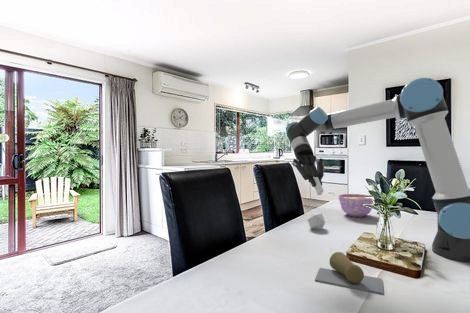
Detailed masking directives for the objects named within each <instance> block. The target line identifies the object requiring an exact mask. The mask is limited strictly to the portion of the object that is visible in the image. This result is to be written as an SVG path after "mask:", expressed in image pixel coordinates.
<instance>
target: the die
mask: <svg viewBox="0 0 470 313" xmlns="http://www.w3.org/2000/svg"><path fill="white" fill-rule="evenodd" d="M307 223H308V225H309V227H310V230H319V231H322V230H323V228H324V225H325V224H326V221H325V218H324V215H323V213H322V212H321V213H320V212H319V213H318V212H311V213H310V214H309V215H308V218H307Z"/></svg>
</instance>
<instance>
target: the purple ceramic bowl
mask: <svg viewBox="0 0 470 313" xmlns="http://www.w3.org/2000/svg"><path fill="white" fill-rule="evenodd" d="M364 196H368V194H360V193H357V194H356V193H344V194H340V195H338V201H339V204H340V208H341V210H342V211H343V213H345V214H347V215H348V216H350V217H355V218H362V217H364V216H368V215H369V214H370V213H371V212H372V209H373V207H372V208H369V207H366V206H363V204H373V205H374V202H373V201H372V199H371V198H362V197H364Z"/></svg>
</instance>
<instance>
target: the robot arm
mask: <svg viewBox="0 0 470 313" xmlns="http://www.w3.org/2000/svg"><path fill="white" fill-rule="evenodd" d="M448 113H449V109H448V106H447V103H446V101H445V98H444V88H443V86H442V85H441V84H440V82H438V81H437V80H435V79H433V78H429V77H419V78H416V79H413V80H411V81H409V82H407V84H405V86H404V87H403V88H402V90H401V92H400V94H398V95H395V96H394V97H393V98H392V99H388V100H382V101H379V102H375V103H371V104H366V105H363V106H362V105H361V106H357V107H353V108H348V109H344V110H340V111H339V110H338V111H335V112H331V113H330V112H329V113H326V112H325V111H324V109H322V108H321V107H319V106H316V107H315V108H313V109H312V110H310V111H309V113H307V114H306V115H305V116H303V118H301V119H300V120H299V121H292V122H289V123H288V124H287V126H285V133H286V136H287V138H288V140H289V141H288V142H289V143H290V146H291V149H292V151H293V154H294V157H295V158H294V159H293V160H292V163H291V165H293V166H294V167H295V168H296V170H297V171H298V173H299V174H300V175H301V177H302V179H303V180H305V181H307V180H308V181H307V182H308V183H310V184H311V186H312V188H314V190H315V192H316V194H317V196H322V195H323V193H324V188H323V182H322V179H323V177H324V176H325V175H324V167H323V160H324V159H323V158H317V157H316V155H315V154H314V152H313V149H312V147H311V143H310V141H309V140H308V138H307V137H308V136H310V135H311V134H312V133H313V132H314V131H319V132H323V133H324V132H328V131H330V130H334V129H340V128H344V127H349V126H350V127H351V126H356V125H360V124H366V123H371V122H377V121H382V120H383V121H384V120H388V119H393V118H394V119H395V118H397V119H399V120H402V119H406V120H407V123H408V124H409V125H412V126H413V127H414V128H415V131H416V135H417V137H418V140H419V143H420V144H419V145H420V147H421V150H422V154H423V156H424V160H425V164H426V166H427V169H428V172H429V175H430V177H431V178H430V179H431V181H432V185H433V187H434V190H435V193H434V195H433V196H432V197H431V199H432V202H433V205H434V208H435V211H436V214H437V217H436V218H437V221H436V222H437V223H436V224H437V225H436V226H437V231H436V234H435V237H434V238H433V241H432V243H431V250H432V252H433V253H435V254H437V255H438V256H441V257H444V258H447V259H450V260H451V259H452V260H454V261H455V260H456V261H460V262H465V263H466V262H468V263H470V188H469V186H468V183H467V180H466V178H465V175H464V174H465V173H464V172H463V169H462V166H461V163H460V159H459V157H458V153H457V151H456V149H455V148H456V147H455V145H454V142H453V140H452V139H453V138H452V137H451V133H450V131H449V127H448V125H447V121H446V119H445V118H446V116H447V115H448Z"/></svg>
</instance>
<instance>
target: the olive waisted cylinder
mask: <svg viewBox="0 0 470 313" xmlns="http://www.w3.org/2000/svg"><path fill="white" fill-rule="evenodd" d="M329 265H330V267H331V269H332V270H336V271H338V272H339V273H341V274H343V275H345V277H346V278H347V280H348V281H349V282H351V283H354V284H357V283H360V282H361V281H362V280H363V278H364V276H365V272H364V270H363V269H362V268H361V267H360V266H359V265H357V264H354V262H352V260H350V258H349V257H348V256H347V255H346V254H345V253H343V252H341V251H336V252H334V253H332V254H331V256H330V257H329Z"/></svg>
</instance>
